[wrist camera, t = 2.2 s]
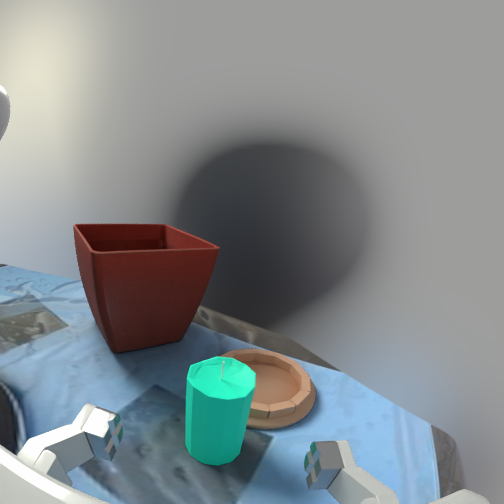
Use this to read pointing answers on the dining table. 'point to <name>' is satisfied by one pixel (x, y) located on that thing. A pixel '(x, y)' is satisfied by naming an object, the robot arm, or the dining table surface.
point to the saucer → (276, 389)
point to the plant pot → (142, 280)
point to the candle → (217, 408)
